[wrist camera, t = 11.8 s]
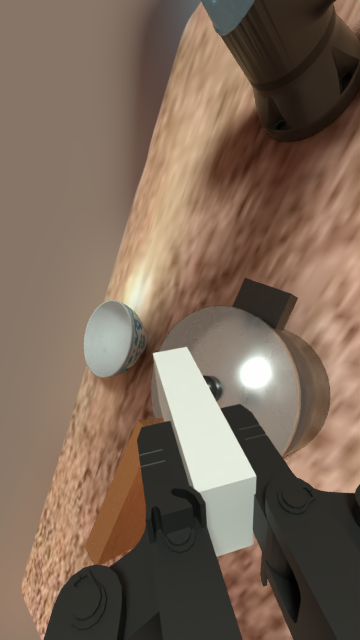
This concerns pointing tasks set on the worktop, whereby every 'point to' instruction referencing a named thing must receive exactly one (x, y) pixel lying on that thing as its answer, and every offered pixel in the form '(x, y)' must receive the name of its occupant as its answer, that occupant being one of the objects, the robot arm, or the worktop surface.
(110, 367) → the chinaware
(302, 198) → the worktop surface
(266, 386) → the lid
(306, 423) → the pot
